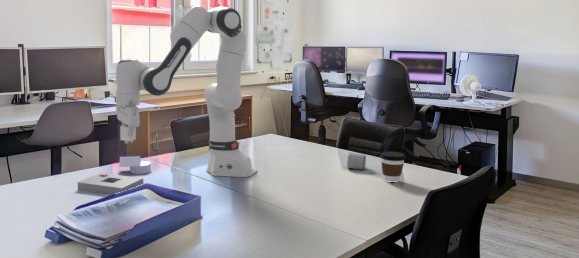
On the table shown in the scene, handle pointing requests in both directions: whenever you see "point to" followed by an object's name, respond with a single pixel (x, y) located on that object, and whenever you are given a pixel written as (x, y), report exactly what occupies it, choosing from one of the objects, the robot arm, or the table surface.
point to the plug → (126, 134)
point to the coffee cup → (392, 165)
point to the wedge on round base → (135, 164)
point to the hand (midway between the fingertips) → (128, 134)
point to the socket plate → (109, 183)
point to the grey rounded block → (356, 161)
